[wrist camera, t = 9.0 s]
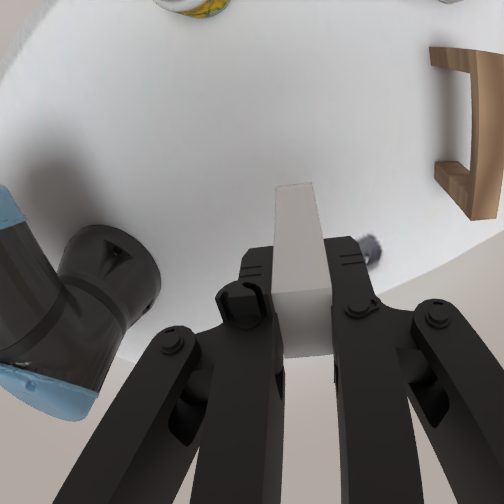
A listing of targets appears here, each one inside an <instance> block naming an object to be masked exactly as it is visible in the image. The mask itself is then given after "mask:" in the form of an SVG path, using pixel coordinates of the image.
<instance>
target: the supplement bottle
mask: <svg viewBox="0 0 504 504" xmlns="http://www.w3.org/2000/svg"><path fill="white" fill-rule="evenodd" d="M153 1H154V2H155V3H156V4H157V5H158V6H160V7H161V8H163V9H166V10H169V11H172V12H176V13H180V14H184V15H187V16H190V17H194V18H207V17H210V16H213V15H215V14H217V13H219V12H220V11H222V10H223V9H224V8H225V7H226V6H227V5H228V3H229V1H230V0H153Z"/></svg>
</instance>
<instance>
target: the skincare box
mask: <svg viewBox="0 0 504 504" xmlns="http://www.w3.org/2000/svg"><path fill="white" fill-rule="evenodd" d="M440 1H443V2H445V3H448V4H452V3H455V2H459V1H462V0H440Z"/></svg>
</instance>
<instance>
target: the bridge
mask: <svg viewBox="0 0 504 504" xmlns="http://www.w3.org/2000/svg"><path fill="white" fill-rule="evenodd" d="M429 51H430V59H431V66H437V67H442V68H447V69H452V70H457V71H462V72H466V73H470V78H471V98H472V140H471V161H470V171H469V170H468V169H467V168H465V167H464V166H463V165H462V164H461V163H459V162H458V161H445V162H435V175H434V179H435V180H436V181H437V182H438V183H439V184H440V186H441V187H442V188H443V189H444V190H445V191H446V192H447V193H448V195H449V196H450V197H451V198H452V199H453V200H454V201H455V203H456V204H457V205H458V206H459V207H460V209H461V210H462V211H463V212H464V213H465V215H466V216H467V217H468V218H469V219H470V221H475V220H486V219H496V217H497V211H498V206H499V199H500V193H501V186H502V178H503V169H504V55H503V54H497V53H492V52H486V51H479V50H471V49H460V48H446V47H429Z"/></svg>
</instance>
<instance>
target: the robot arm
mask: <svg viewBox="0 0 504 504" xmlns="http://www.w3.org/2000/svg"><path fill="white" fill-rule="evenodd" d="M26 219H27V218H26V216H25V215H24V214H22V213H21V211H20V209H19V208H18V206H17V204H16V202H15V201H14V199H13V197H12V195H11V194H10V192H9V190H8V189H7V188H6V187H5V186H3V185H1V184H0V385H1V386H2V387H3V388H4V389H6V390H7V391H8V392H9V393H11V394H12V395H14V396H15V397H17V398H18V399H20V400H22V401H23V402H25V403H26V404H28V405H30V406H32V407H33V408H36V409H37V410H39V411H42V412H44V413H46V414H48V415H51V416H53V417H56V418H59V419H62V420H66V421H73V422H75V421H80V420H82V419H84V418H85V417H86V416H87V415H88V413H89V411H90V409H91V407H92V405H93V403H94V401H95V399H96V398H98V396H99V392H100V390H101V387H102V385H103V382H104V380H105V378H106V375H107V373H108V371H109V368H110V366H111V364H112V361H113V359H114V357H115V355H116V352H117V350H118V348H119V346H120V343H121V341H122V339H123V337H124V335H125V333H126V331H127V330H128V329H129V328H130V327H131V326H132V325H133V324H134V323H135V322H136V321H138V320H139V319H140V318H141V317H142V315H144V314H145V313H146V312H148V311H149V310H150V308H151V307H152V306H153V304H154V302H155V300H156V298H157V296H158V293H159V291H160V285H161V281H160V274H159V271H158V268H157V266H156V264H155V262H154V260H153V258H152V257H151V255H150V254H149V253H148V252H147V250H146V249H145V248H144V247H143V246H142V245H141V244H140V243H139V242H138V241H136V240H135V239H134V238H132V237H131V236H130V235H128V234H126V233H124V232H123V231H120V230H118V229H116V228H113V227H109V226H104V225H92V226H88V227H85V228H83V229H81V230H80V231H78V232H77V233H76V234H75V235H74V237H73V238H72V239H71V240H70V241H69V242H68V244H67V246H66V247H65V250H64V254H63V257H62V259H61V262H60V265H59V267H58V270H57V273H56V272H55V270H54V269H53V267H52V266H51V264H50V262H49V261H48V259H47V258H46V256H45V254H44V253H43V251H42V249H41V248H40V246H39V244H38V243H37V241H36V239H35V237H34V236H33V234H32V232H31V230H30V228H29V227H28V225H27V223H26V221H25V220H26ZM240 269H241V270H240V273H239V278H238V280H237V281H233V282H231V283H229V284H227V285H225V286H224V287H223V288H222V289H221V290H220V291H219V292H218V293H217V295H216V297H215V300H216V303H217V306H218V309H219V311H220V314H221V317H222V319H223V323H222V324H220V325H219V326H217V327H215V328H212V329H210V330H207V331H203V332H200V333H197V334H194V333H193V332H192V330H191V329H190V328H187V327H185V326H172V327H168V328H165V329H164V330H162V331H160V332H159V333H158V334H157V335H156V336H155V337H154V338H153V339H152V341H151V342H150V344H149V345H148V347H147V348H146V350H145V351H144V353H143V354H142V356H141V358H140V359H139V361H138V362H137V364H136V365H135V367H134V369H133V370H132V372H131V373H130V375H129V377H128V378H127V379H126V381H125V383H124V384H123V386H122V387H121V389H120V391H119V392H118V394H117V396H116V397H115V399H114V400H113V402H112V404H111V405H110V407H109V408H108V410H107V412H106V413H105V415H104V417H103V418H102V420H101V421H100V423H99V425H98V426H97V428H96V430H95V431H94V433H93V434H92V436H91V438H90V439H89V441H88V443H87V444H86V446H85V448H84V449H83V451H82V453H81V455H80V456H79V458H78V460H77V462H76V463H75V465H74V467H73V468H72V470H71V472H70V473H69V475H68V477H67V478H66V480H65V482H64V484H63V485H62V487H61V489H60V491H59V492H58V494H57V496H56V498H55V500H54V501H53V503H52V504H172V503H173V501H174V499H175V497H176V495H177V493H178V491H179V488H180V486H181V484H182V482H183V480H184V478H185V476H186V474H187V472H188V469H189V467H190V465H191V463H192V461H193V459H194V457H195V454H196V452H197V450H198V448H199V453H198V458H197V465H196V469H195V475H194V481H193V487H192V492H191V498H190V504H280V502H281V484H282V463H283V438H284V406H285V371H284V366H283V353H284V357H285V358H298V357H310V356H320V355H330V354H334V383H335V386H336V398H337V412H338V427H339V443H340V466H341V467H340V468H341V504H424V499H423V489H422V481H421V474H420V466H419V459H418V453H417V446H416V441H415V435H414V429H413V424H412V419H411V413H410V408H409V404H408V399H407V397H408V398H409V400H410V402H411V404H412V406H413V408H414V410H415V412H416V414H417V416H418V418H419V420H420V422H421V424H422V426H423V428H424V430H425V432H426V434H427V436H428V439H429V440H430V443H431V445H432V447H433V449H434V451H435V453H436V455H437V458H438V460H439V462H440V464H441V466H442V468H443V471H444V473H445V475H446V477H447V479H448V482H449V484H450V486H451V488H452V491H453V493H454V496H455V498H456V500H457V503H458V504H504V370H503V368H502V367H501V365H500V364H499V362H498V361H497V360H496V358H495V357H494V355H493V354H492V353H491V351H490V350H489V349H488V347H487V346H486V345H485V343H484V342H483V341H482V339H481V338H480V337H479V335H478V334H477V333H476V331H475V330H474V329H473V328H472V327H471V325H470V324H469V322H468V321H467V320H466V319H465V317H464V316H463V315H462V314H461V313H460V311H459V310H458V309H457V308H456V307H455V306H454V305H453V304H451V303H450V302H447V301H445V300H442V299H429V300H425V301H423V302H422V303H420V304H418V306H417V307H416V309H415V310H414V311H407V310H399V309H394V308H390V307H389V306H386V305H385V304H383V303H382V302H381V300H380V299H379V298H378V297H377V296H376V295H375V293H374V290H373V287H372V284H371V281H370V277H369V274H368V271H367V268H366V265H365V263H364V259H363V256H362V253H361V250H360V247H359V244H358V243H357V242H356V241H355V240H354V239H353V238H352V237H350V236H345V237H336V238H327V239H323V235H322V230H321V225H320V220H319V215H318V210H317V205H316V200H315V196H314V191H313V186H312V182H310V183H302V184H294V185H286V186H278V187H276V203H275V227H274V246H267V247H258V248H250V249H249V250H248V251H247V252H246V254H245V255H244V256H243V257H242V261H241V267H240ZM199 446H200V447H199Z"/></svg>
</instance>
